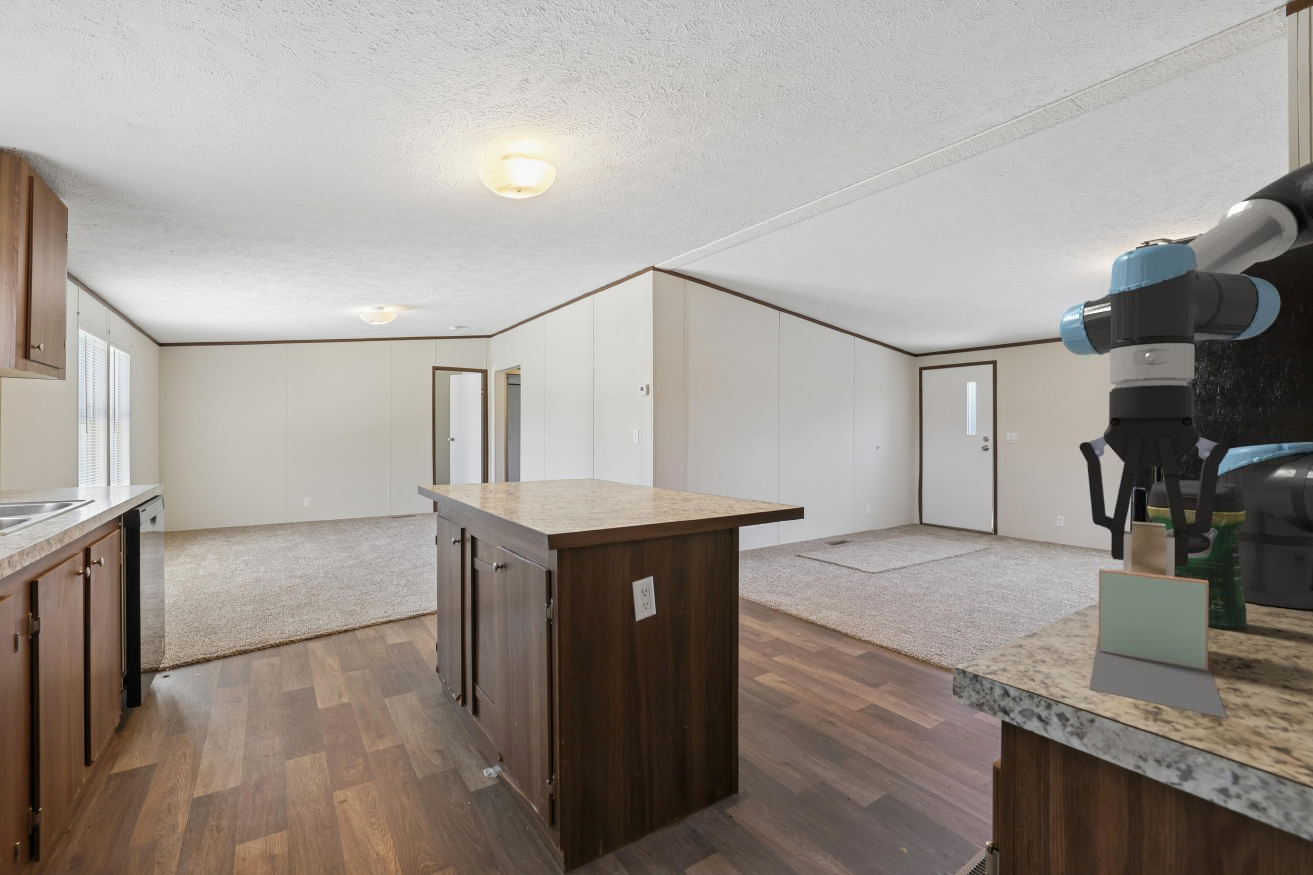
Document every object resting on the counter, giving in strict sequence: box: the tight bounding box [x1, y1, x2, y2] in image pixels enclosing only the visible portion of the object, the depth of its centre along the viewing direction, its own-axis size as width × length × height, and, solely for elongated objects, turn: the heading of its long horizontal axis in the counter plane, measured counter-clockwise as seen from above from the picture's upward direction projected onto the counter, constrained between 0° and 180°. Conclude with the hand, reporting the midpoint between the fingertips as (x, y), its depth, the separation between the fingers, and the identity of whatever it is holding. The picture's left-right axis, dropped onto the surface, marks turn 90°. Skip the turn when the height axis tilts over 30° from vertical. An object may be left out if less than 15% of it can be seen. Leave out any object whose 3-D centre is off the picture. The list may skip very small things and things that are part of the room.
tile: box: [1098, 568, 1209, 671], centre depth 65 cm, size 9×1×9 cm, turn 52°
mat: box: [1088, 634, 1228, 719], centre depth 64 cm, size 10×24×1 cm, turn 142°
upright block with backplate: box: [1131, 521, 1167, 576], centre depth 69 cm, size 8×8×8 cm
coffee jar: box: [1146, 479, 1247, 631], centre depth 80 cm, size 10×8×19 cm
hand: (1147, 590), depth 70 cm, fingers closed on upright block with backplate, 3 cm apart
